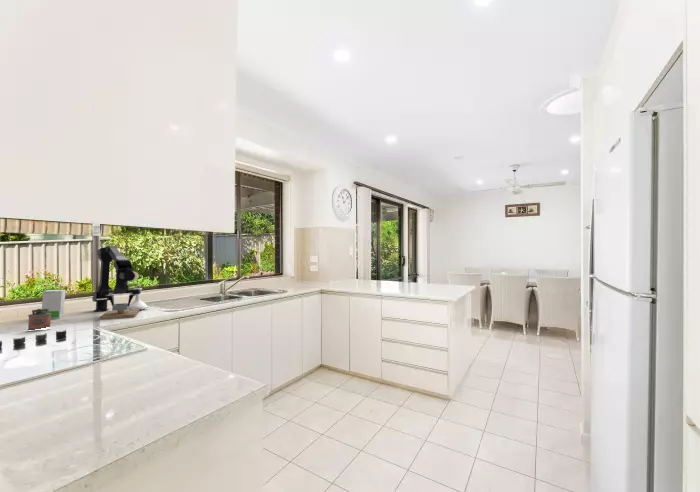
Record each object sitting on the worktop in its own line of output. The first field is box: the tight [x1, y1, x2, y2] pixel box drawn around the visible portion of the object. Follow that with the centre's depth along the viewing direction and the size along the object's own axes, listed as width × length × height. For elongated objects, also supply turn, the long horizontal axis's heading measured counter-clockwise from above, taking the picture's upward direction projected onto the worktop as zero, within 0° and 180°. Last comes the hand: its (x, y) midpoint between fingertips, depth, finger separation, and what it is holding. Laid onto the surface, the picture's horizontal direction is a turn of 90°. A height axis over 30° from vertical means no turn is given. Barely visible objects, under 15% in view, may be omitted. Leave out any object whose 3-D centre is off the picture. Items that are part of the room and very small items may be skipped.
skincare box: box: [41, 289, 66, 320], centre depth 177 cm, size 8×7×16 cm
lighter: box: [27, 308, 52, 331], centre depth 149 cm, size 8×3×10 cm, turn 114°
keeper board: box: [98, 309, 140, 321], centre depth 186 cm, size 20×16×6 cm
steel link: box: [111, 302, 129, 311], centre depth 186 cm, size 7×7×3 cm
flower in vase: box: [128, 271, 148, 311], centre depth 205 cm, size 13×11×25 cm
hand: (120, 306), depth 186 cm, fingers closed on steel link, 7 cm apart
